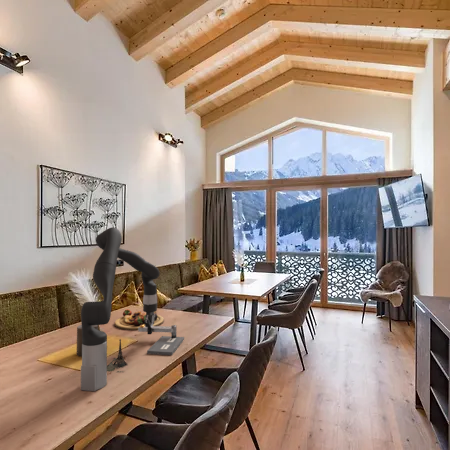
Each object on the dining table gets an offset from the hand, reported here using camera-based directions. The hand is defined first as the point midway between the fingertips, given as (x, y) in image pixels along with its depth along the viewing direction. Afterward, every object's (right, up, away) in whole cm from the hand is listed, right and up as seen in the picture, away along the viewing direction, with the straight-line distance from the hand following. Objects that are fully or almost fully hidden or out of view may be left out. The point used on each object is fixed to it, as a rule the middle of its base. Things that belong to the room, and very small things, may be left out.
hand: (149, 333), depth 172 cm
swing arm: (+4, -3, +4) cm, 6 cm away
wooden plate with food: (-16, -6, +37) cm, 40 cm away
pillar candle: (-28, -5, -15) cm, 32 cm away
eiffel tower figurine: (-7, -5, -29) cm, 30 cm away
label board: (+11, -4, -6) cm, 13 cm away
